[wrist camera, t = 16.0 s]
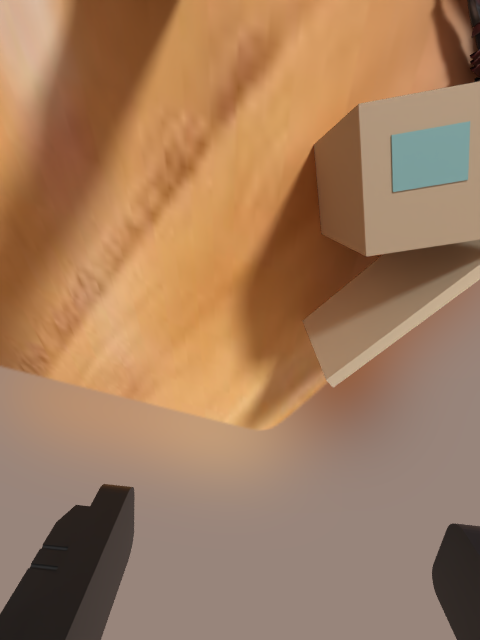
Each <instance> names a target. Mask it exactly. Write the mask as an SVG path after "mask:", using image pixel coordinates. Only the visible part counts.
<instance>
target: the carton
mask: <svg viewBox="0 0 480 640" xmlns="http://www.w3.org/2000/svg"><path fill="white" fill-rule="evenodd" d="M314 154H315V165H316V177H317V188H318V200H319V211H320V223H321V234H322V235H324V236H326V237H328V238H330V239H332V240H334V241H336V242H338V243H340V244H342V245H344V246H346V247H348V248H350V249H352V250H354V251H356V252H358V253H360V254H362V255H364V256H366V257H367V256H374V255H380V254H387V253H393V252H400V251H407V250H413V249H420V248H427V247H433V246H440V245H446V244H453V243H460V242H466V241H473V240H479V239H480V81H479V82H473V83H468V84H463V85H457V86H452V87H447V88H441V89H436V90H431V91H425V92H420V93H414V94H409V95H404V96H398V97H393V98H388V99H382V100H377V101H372V102H366V103H361V104H358V105H357V106H356V107H355V108H354V109H353V110H351V111H350V112H349V113H348V114H347V115H346V116H345V117H344V118H343V119H342V120H340V121H339V122H338V123H337V124H336V125H335V126H334V127H333V128H332V129H331V130H329V131H328V132H327V133H326V134H325V135H324V136H323V137H322V138H321V139H320V140H318V141H317V142H316V143H315V144H314Z"/></svg>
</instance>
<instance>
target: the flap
mask: <svg viewBox="0 0 480 640" xmlns="http://www.w3.org/2000/svg"><path fill="white" fill-rule="evenodd" d="M479 279H480V239H479V240H473V241H466V242H460V243H453V244H446V245H440V246H433V247H427V248H420V249H413V250H407V251H400V252H393V253H387V254H384V255H382V256H381V257H380V258H379V259H377V260H376V261H375V262H374V263H373V264H371V265H370V266H369V267H368V268H366V269H365V270H364V271H363V272H361V273H360V274H359V275H358V276H357V277H355V278H354V279H353V280H352V281H350V282H349V283H348V284H347V285H346V286H344V287H343V288H342V289H341V290H339V291H338V292H337V293H336V294H335V295H333V296H332V297H331V298H330V299H328V300H327V301H326V302H325V303H324V304H322V305H321V306H320V307H319V308H317V309H316V310H315V311H314V312H313V313H311V314H310V315H309V316H308V317H306V318H305V319H304V320H303V321H302V322H303V324H304V327H305V329H306V331H307V334H308V336H309V339H310V341H311V344H312V346H313V349H314V351H315V354H316V356H317V359H318V361H319V364H320V366H321V369H322V371H323V374H324V376H325V379H326V380H327V381H328V383H330V385H331V386H332V387H335V386H336V385H337V384H339V383H340V382H341V381H343V380H344V379H345V378H347V377H348V376H350V375H351V374H352V373H353V372H355V371H356V370H358V369H359V368H360V367H362V366H363V365H364V364H366V363H367V362H368V361H370V360H371V359H372V358H374V357H375V356H376V355H378V354H379V353H381V352H382V351H383V350H385V349H386V348H387V347H389V346H390V345H391V344H393V343H394V342H395V341H397V340H398V339H399V338H401V337H402V336H404V335H405V334H406V333H407V332H409V331H410V330H412V329H413V328H414V327H416V326H417V325H419V324H420V323H421V322H422V321H424V320H425V319H427V318H428V317H429V316H431V315H432V314H433V313H435V312H436V311H437V310H439V309H440V308H442V307H443V306H444V305H446V304H447V303H448V302H450V301H451V300H452V299H454V298H455V297H456V296H458V295H459V294H460V293H461V292H463V291H465V290H466V289H467V288H469V287H470V286H471V285H473V284H474V283H475V282H477V281H478V280H479Z"/></svg>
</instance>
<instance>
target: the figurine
mask: <svg viewBox="0 0 480 640" xmlns="http://www.w3.org/2000/svg"><path fill="white" fill-rule="evenodd" d="M467 1H468V9H469V16H470V20H471V24H472V27H474V28H473V32H472V38H473V37H474V36H475V38H476V43H477V48H478V52H475V53H473V54H471V55H470V57H471V58H472V59H473V60H472V61H470V63H471V64H472V65H473V67H472V68H470V69H471V71H472V72H474V73H475V74H476V75H477V76H479V77H480V0H467ZM479 81H480V78H478V77H477V78H475V80H474V82H479Z"/></svg>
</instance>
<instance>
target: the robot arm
mask: <svg viewBox="0 0 480 640" xmlns="http://www.w3.org/2000/svg"><path fill="white" fill-rule="evenodd" d="M133 536H134V488H133V487H126V486H117V485H108V484H103V485H102V486H101V487H100V489H99V491H98V493H97V495H96V497H95V498H94V500H93V502H92V504H91V506H80V505H76V506H74V507H73V508H72V509H71V510H70V511H69V512H68V513H66V514H65V515H64V516H63V517H62V518H61V519H60V520H58V521H57V522H56V524H55V525H54V527H53V529H52V531H51V532H50V534H49V535H48V537H47V538H46V540H45V542H44V543H43V547H42V549H40V550H39V552H38V553H37V555H36V557H35V558H34V560H33V561H32V563H31V567H30V568H29V569H28V570H27V571H26V573H25V575H24V576H23V578H22V579H21V581H20V583H19V584H18V586H17V588H16V589H15V591H14V593H13V594H12V596H11V597H10V599H9V601H8V602H7V604H6V606H5V607H4V609H3V611H2V612H1V614H0V640H101V637H102V634H103V631H104V629H105V626H106V623H107V620H108V617H109V614H110V611H111V608H112V606H113V603H114V600H115V597H116V594H117V591H118V588H119V585H120V582H121V580H122V576H123V574H124V571H125V568H126V565H127V562H128V559H129V555H130V552H131V548H132V542H133ZM432 579H433V585H434V589H435V592H436V595H437V597H438V600H439V602H440V604H441V606H442V608H443V610H444V613H445V615H446V617H447V619H448V621H449V623H450V626H451V628H452V630H453V632H454V634H455V636H456V639H457V640H480V526H472V525H463V524H450V525H449V526H448V528H447V530H446V533H445V536H444V538H443V541H442V543H441V546H440V549H439V551H438V554H437V556H436V559H435V562H434V564H433V569H432Z"/></svg>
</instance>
